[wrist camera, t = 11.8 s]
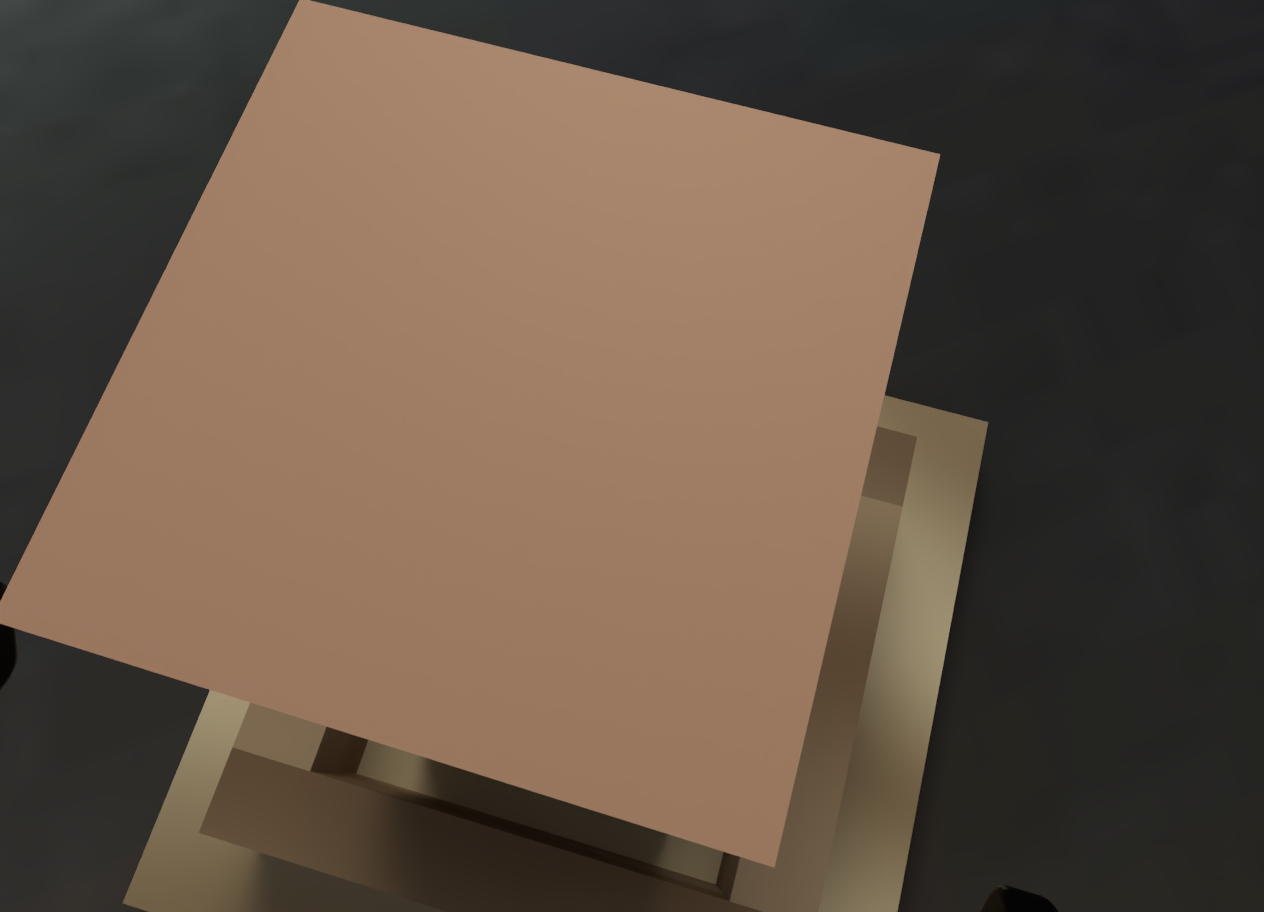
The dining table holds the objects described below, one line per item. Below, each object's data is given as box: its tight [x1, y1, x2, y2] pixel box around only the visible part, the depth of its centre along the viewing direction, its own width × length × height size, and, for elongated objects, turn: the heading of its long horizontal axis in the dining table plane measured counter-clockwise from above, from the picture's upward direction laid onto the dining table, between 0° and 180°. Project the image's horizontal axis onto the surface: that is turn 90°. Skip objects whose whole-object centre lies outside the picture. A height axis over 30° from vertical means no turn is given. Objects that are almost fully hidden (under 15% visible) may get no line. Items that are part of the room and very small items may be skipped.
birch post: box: [0, 0, 940, 868], centre depth 12 cm, size 4×4×12 cm
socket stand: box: [123, 395, 988, 912], centre depth 17 cm, size 12×12×4 cm
